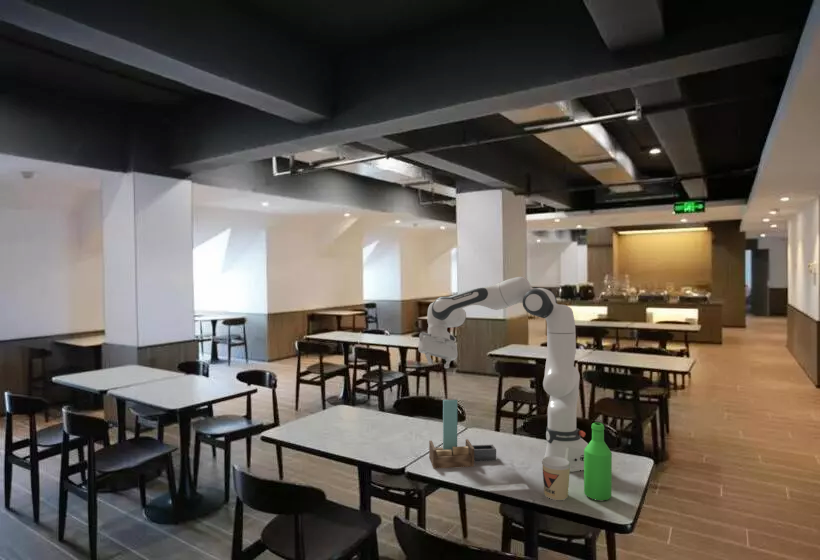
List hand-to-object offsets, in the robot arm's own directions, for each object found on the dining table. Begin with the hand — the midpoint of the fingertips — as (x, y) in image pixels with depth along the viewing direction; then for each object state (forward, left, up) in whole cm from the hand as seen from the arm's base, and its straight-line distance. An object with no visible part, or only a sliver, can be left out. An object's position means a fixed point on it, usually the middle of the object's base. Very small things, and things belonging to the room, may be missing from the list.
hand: (438, 365), depth 214 cm
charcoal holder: (-15, +18, -36) cm, 43 cm away
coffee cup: (-33, +50, -36) cm, 70 cm away
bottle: (-47, +52, -36) cm, 79 cm away
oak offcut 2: (-5, +22, -35) cm, 41 cm away
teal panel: (-2, +18, -35) cm, 39 cm away
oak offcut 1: (+1, +22, -35) cm, 41 cm away
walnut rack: (-2, +20, -36) cm, 41 cm away
